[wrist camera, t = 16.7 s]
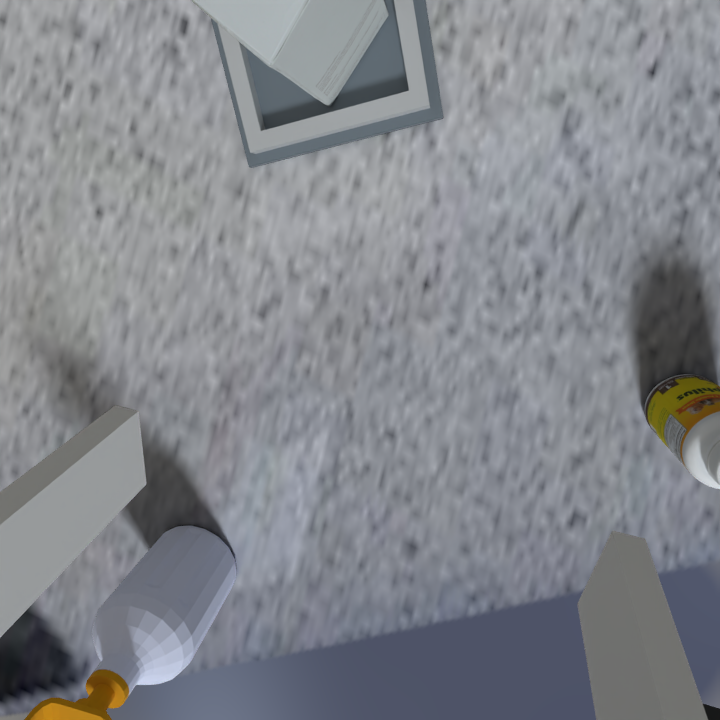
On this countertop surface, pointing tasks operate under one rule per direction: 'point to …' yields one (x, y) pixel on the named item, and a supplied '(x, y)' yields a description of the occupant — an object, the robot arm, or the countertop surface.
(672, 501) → the countertop surface
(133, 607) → the soap bottle
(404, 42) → the slate base tray
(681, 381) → the supplement bottle
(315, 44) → the supplement box
